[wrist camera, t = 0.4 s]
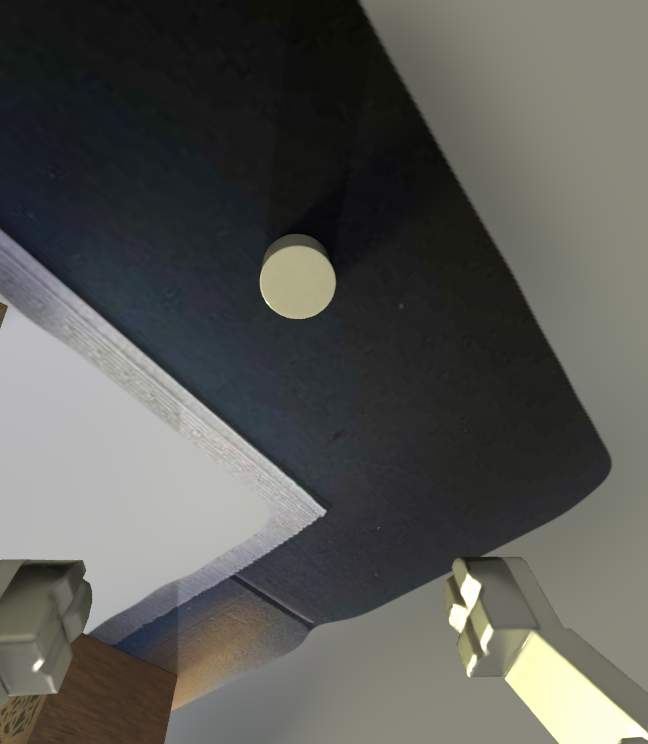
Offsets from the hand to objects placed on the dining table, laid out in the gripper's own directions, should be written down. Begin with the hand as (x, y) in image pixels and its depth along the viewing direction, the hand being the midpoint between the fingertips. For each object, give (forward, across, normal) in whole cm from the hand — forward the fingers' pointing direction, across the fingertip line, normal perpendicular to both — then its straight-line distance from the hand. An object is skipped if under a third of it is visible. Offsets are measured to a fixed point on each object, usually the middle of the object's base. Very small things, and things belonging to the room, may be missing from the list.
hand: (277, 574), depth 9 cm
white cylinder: (+21, -1, -1) cm, 21 cm away
